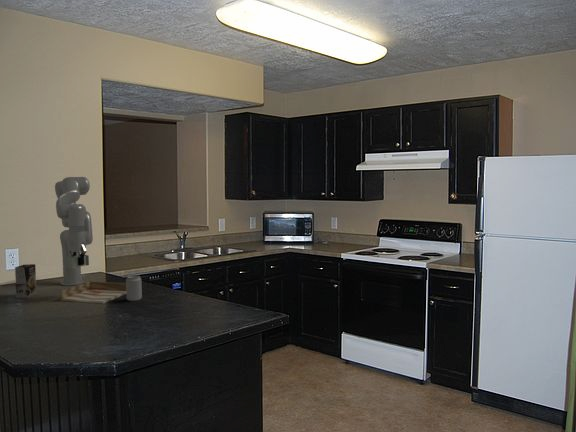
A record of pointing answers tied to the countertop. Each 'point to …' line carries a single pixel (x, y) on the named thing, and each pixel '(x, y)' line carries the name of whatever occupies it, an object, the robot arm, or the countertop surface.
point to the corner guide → (93, 292)
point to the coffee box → (25, 281)
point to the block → (76, 261)
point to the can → (133, 288)
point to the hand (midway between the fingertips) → (78, 264)
